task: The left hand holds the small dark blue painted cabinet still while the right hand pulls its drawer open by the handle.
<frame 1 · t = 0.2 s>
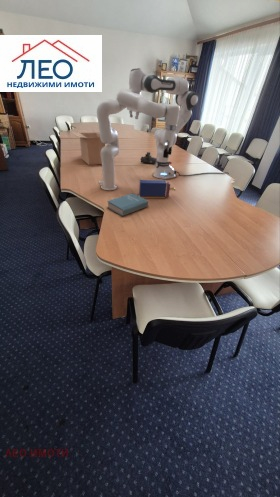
left hand: (167, 156, 150), 31 cm above the table, tool pointing down, fingers open, 9 cm apart
right hand: (133, 118, 170), 48 cm above the table, tool pointing down, fingers open, 8 cm apart
box: (93, 161, 237), on the table
drawer: (160, 189, 168), point 6 cm above the table, slide at 1.7 cm
cabinet: (151, 196, 171), on the table
book: (127, 207, 153), on the table
laser sight: (150, 163, 243), on the table
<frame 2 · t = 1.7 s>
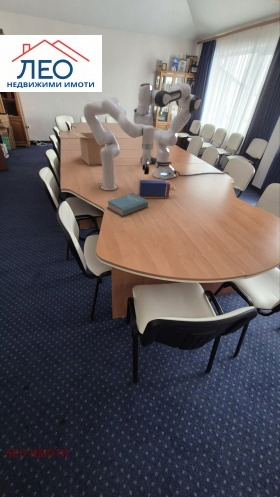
left hand: (145, 172, 159), 19 cm above the table, tool pointing down, fingers open, 9 cm apart
right hand: (142, 132, 169), 40 cm above the table, tool pointing down, fingers open, 8 cm apart
nothing on the table moved.
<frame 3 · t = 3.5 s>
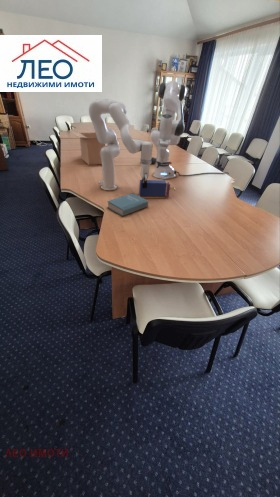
left hand: (144, 185, 165), 8 cm above the table, tool pointing down, fingers closed on cabinet, 6 cm apart
right hand: (161, 161, 166), 24 cm above the table, tool pointing down, fingers open, 8 cm apart
cabinet: (151, 196, 171), on the table, touching left hand
everything else where it was.
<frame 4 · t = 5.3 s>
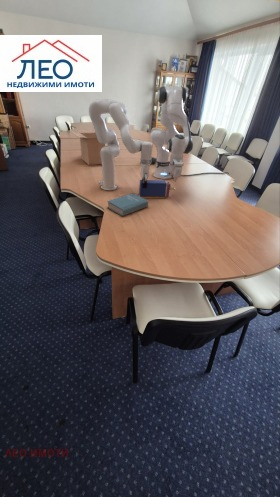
left hand: (144, 185, 165), 8 cm above the table, tool pointing down, fingers closed on cabinet, 6 cm apart
right hand: (173, 179, 165), 13 cm above the table, tool pointing down, fingers open, 8 cm apart
cabinet: (151, 196, 171), on the table, touching left hand
everything else where it was.
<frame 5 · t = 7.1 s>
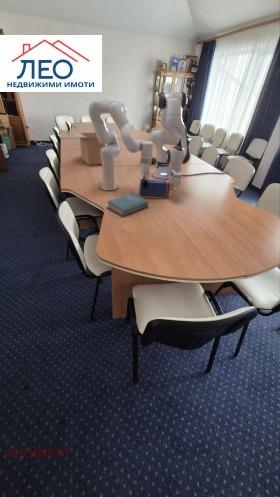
left hand: (144, 185, 165), 9 cm above the table, tool pointing down, fingers closed on cabinet, 6 cm apart
right hand: (172, 189, 169), 6 cm above the table, tool pointing down, fingers closed, pressing on drawer
drawer: (160, 189, 168), point 6 cm above the table, slide at 1.6 cm, touching right hand
cabinet: (151, 196, 171), on the table, touching left hand
everything else where it was.
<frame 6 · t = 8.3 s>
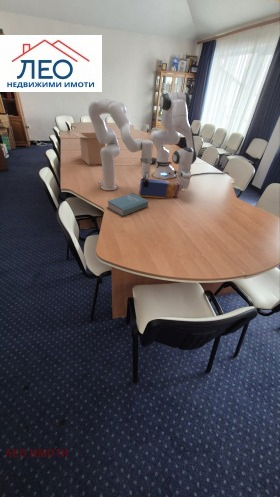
left hand: (145, 184, 165), 9 cm above the table, tool pointing down, fingers closed on cabinet, 6 cm apart
right hand: (180, 190, 170), 6 cm above the table, tool pointing down, fingers closed, pressing on drawer
drawer: (169, 189, 169), point 6 cm above the table, slide at 8.4 cm, touching right hand
cabinet: (151, 195, 170), point 1 cm above the table, touching left hand
everything else where it was.
when the left hand's fingers open (9 cm above the table, at t = 9.8 s): cabinet stays where it is, on the table.
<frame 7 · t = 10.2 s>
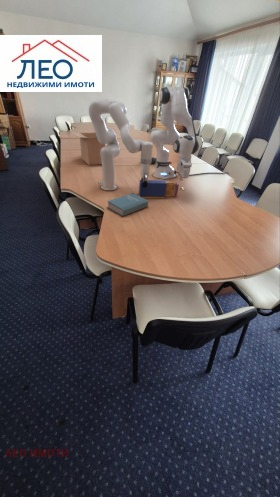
left hand: (143, 184, 165), 9 cm above the table, tool pointing down, fingers open, 9 cm apart
right hand: (180, 180, 166), 13 cm above the table, tool pointing down, fingers closed
drawer: (168, 189, 169), point 6 cm above the table, slide at 8.3 cm
cabinet: (151, 196, 171), on the table
everything else where it was.
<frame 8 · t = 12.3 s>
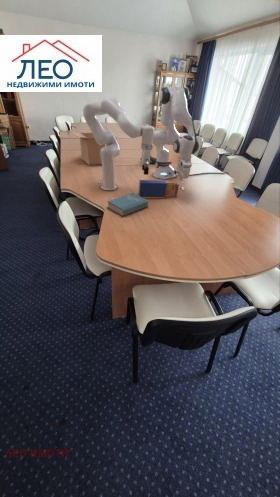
left hand: (145, 172, 159), 18 cm above the table, tool pointing down, fingers open, 9 cm apart
right hand: (180, 180, 166), 13 cm above the table, tool pointing down, fingers closed
nothing on the table moved.
at the end: drawer slide at 8.3 cm; cabinet tilted 0°; cabinet never tilted more than 5° during the clip; cabinet moved 0.2 cm from its start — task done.
